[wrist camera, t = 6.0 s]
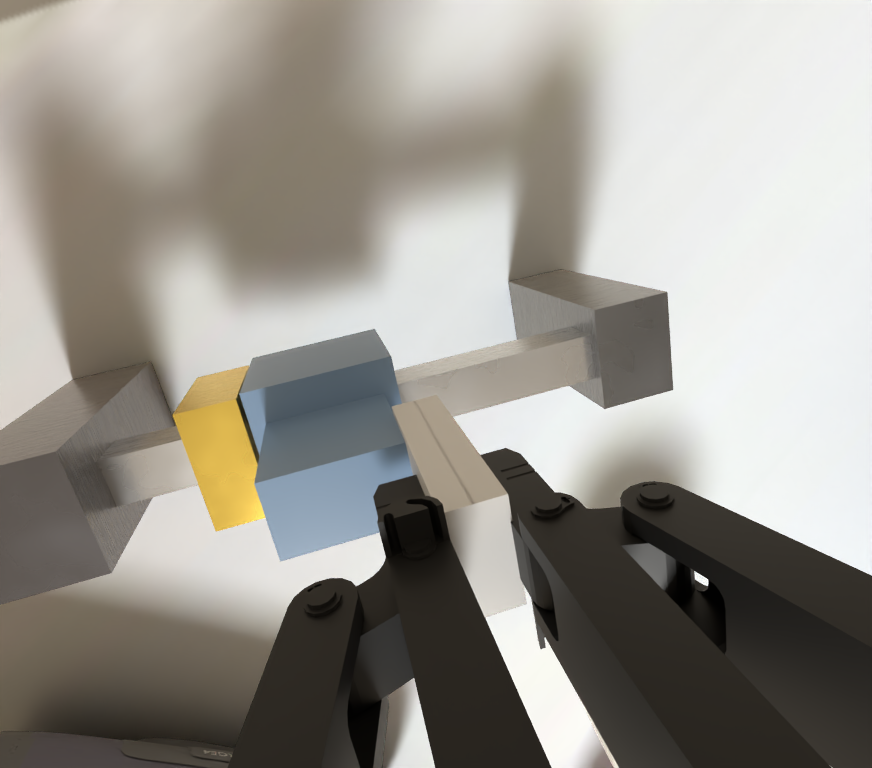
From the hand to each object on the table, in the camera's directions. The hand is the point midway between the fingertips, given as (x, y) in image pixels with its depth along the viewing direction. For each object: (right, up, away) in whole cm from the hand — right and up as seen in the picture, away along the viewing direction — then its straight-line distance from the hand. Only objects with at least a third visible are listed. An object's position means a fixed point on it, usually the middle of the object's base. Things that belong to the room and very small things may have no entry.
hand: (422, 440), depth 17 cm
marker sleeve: (-4, +1, +6) cm, 8 cm away
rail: (-5, +3, +11) cm, 13 cm away
